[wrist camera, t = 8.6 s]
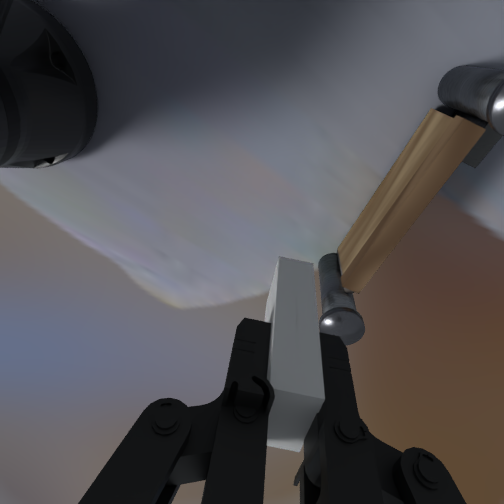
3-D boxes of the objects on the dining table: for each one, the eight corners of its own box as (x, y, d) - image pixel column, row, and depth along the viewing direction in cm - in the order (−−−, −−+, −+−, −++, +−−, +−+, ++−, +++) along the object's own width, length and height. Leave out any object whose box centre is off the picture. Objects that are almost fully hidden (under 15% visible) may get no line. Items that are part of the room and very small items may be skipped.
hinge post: (308, 270, 41) (311, 335, 32) (325, 245, 39) (334, 306, 30) (338, 283, 41) (349, 351, 32) (356, 259, 39) (373, 323, 30)
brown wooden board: (332, 252, 39) (339, 290, 33) (430, 104, 30) (464, 118, 24) (346, 258, 39) (355, 297, 33) (448, 113, 30) (486, 129, 24)
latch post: (404, 126, 31) (447, 159, 22) (454, 51, 28) (530, 52, 19) (447, 149, 32) (506, 189, 23) (501, 77, 29) (597, 91, 19)
